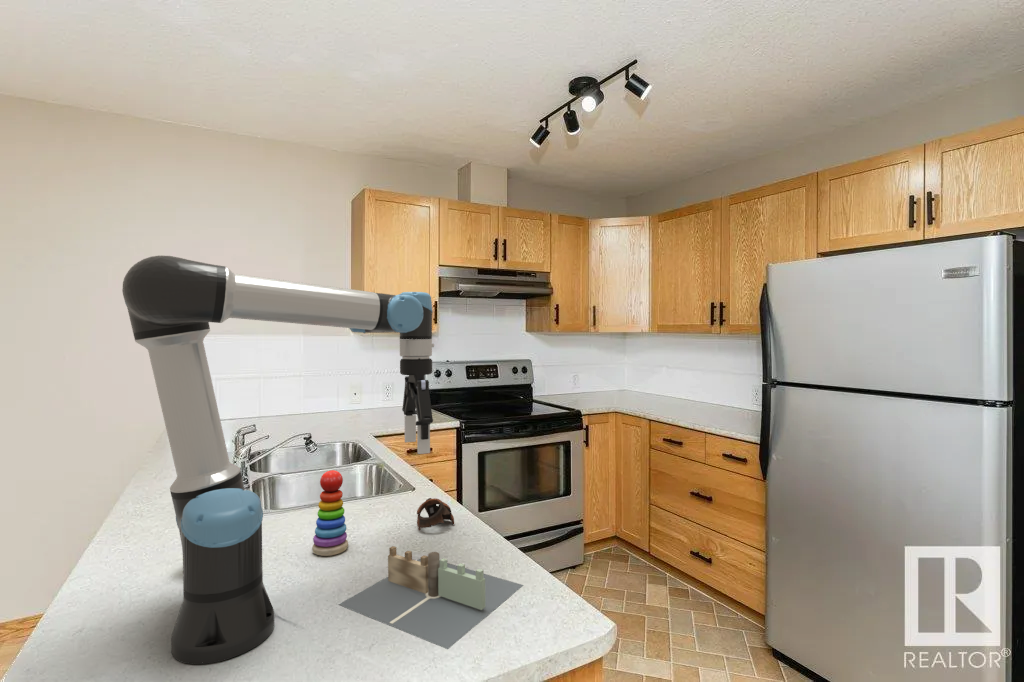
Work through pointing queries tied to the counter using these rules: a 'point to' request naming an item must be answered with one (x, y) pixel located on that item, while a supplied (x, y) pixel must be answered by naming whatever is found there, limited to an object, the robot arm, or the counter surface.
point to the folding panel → (461, 585)
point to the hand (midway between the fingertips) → (416, 447)
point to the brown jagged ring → (433, 513)
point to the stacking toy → (330, 517)
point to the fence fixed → (414, 571)
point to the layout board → (428, 608)
